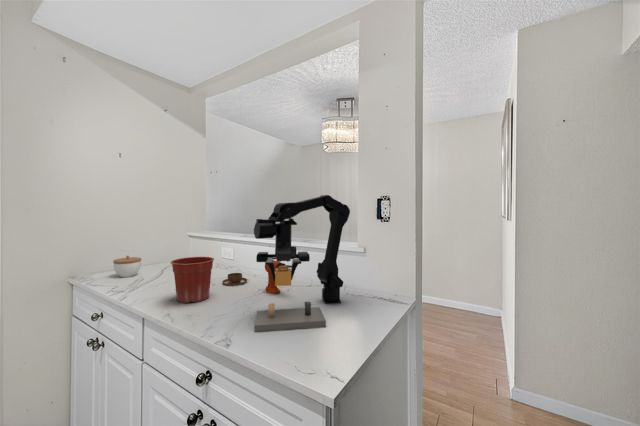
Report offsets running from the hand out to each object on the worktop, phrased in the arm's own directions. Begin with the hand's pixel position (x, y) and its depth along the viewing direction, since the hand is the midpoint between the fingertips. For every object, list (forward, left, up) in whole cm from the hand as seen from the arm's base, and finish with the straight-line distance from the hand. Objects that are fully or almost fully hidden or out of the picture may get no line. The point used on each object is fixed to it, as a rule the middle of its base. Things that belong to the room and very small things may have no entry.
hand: (282, 280), depth 101 cm
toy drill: (+1, -20, -12) cm, 24 cm away
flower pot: (+36, -20, -12) cm, 43 cm away
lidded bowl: (+82, -66, -12) cm, 106 cm away
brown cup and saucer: (+25, -45, -12) cm, 53 cm away
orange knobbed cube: (0, 0, -1) cm, 1 cm away
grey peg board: (-2, +10, -11) cm, 15 cm away
